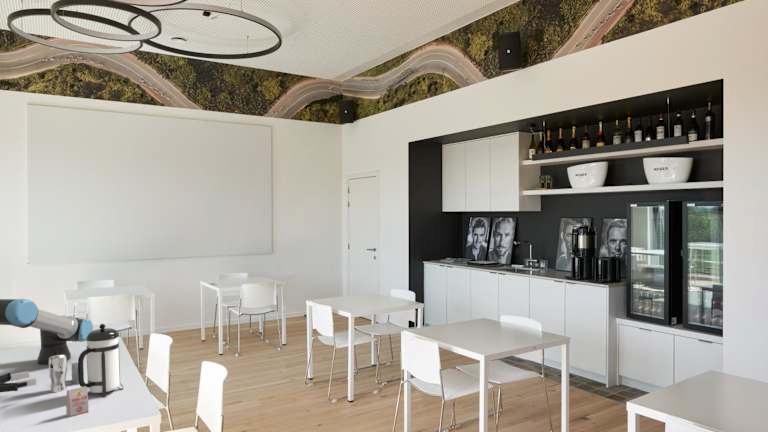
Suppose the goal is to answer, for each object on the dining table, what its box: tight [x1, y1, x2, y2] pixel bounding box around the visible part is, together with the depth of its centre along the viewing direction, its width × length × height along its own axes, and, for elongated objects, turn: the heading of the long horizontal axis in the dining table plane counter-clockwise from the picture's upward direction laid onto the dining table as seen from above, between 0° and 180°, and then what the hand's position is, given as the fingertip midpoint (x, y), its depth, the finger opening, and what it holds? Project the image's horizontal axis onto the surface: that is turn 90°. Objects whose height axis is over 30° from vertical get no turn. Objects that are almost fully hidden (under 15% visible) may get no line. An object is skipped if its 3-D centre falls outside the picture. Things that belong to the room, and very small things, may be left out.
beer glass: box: [48, 355, 68, 393], centre depth 232 cm, size 7×7×15 cm
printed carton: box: [65, 386, 90, 418], centre depth 205 cm, size 4×7×10 cm, turn 134°
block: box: [71, 362, 80, 385], centre depth 243 cm, size 2×9×8 cm, turn 45°
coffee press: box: [77, 323, 124, 398], centre depth 227 cm, size 17×16×30 cm
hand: (32, 377), depth 225 cm, fingers open, 13 cm apart
